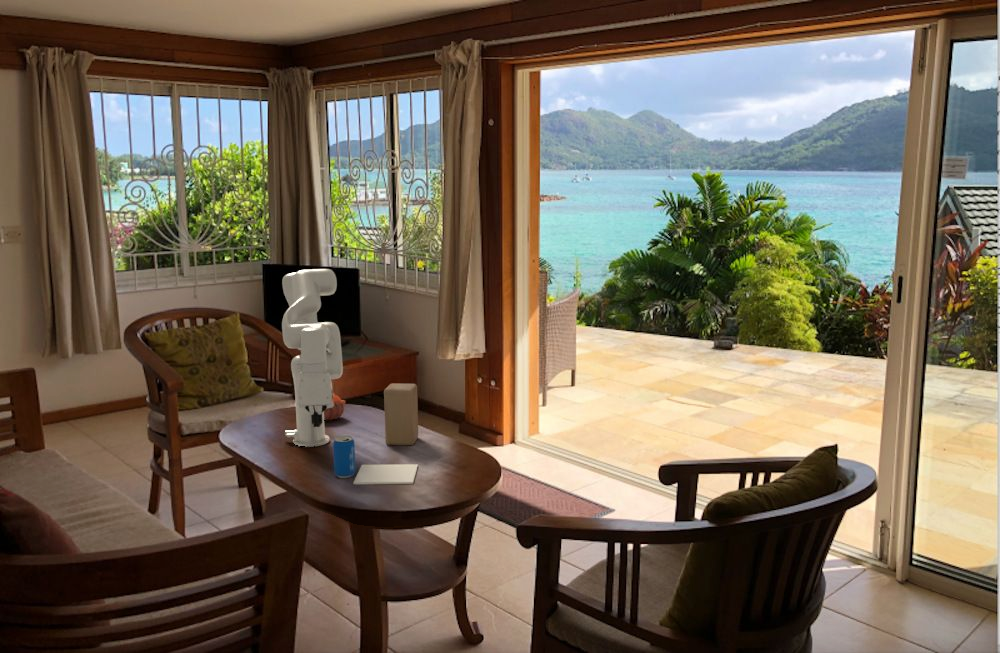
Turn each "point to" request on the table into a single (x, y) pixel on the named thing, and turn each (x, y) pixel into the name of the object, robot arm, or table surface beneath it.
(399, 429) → the wooden block
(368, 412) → the table surface
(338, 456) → the beverage can
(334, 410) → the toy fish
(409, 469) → the mat
